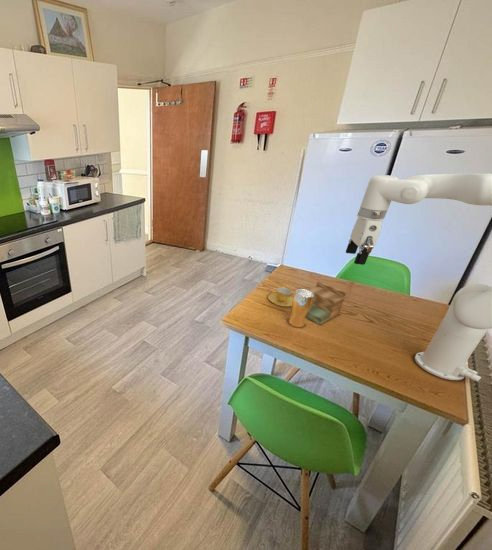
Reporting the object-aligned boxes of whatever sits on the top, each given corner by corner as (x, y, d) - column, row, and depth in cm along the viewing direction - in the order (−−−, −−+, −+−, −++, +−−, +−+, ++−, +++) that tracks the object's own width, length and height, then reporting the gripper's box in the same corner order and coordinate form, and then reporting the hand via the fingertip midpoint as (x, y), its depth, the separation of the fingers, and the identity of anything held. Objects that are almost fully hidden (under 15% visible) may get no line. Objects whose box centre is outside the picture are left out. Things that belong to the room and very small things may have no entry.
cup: (292, 295, 147) (294, 285, 144) (298, 308, 136) (301, 298, 134) (266, 292, 149) (268, 283, 147) (270, 305, 139) (272, 295, 137)
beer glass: (283, 319, 129) (291, 289, 122) (297, 317, 130) (306, 287, 123) (294, 328, 123) (303, 298, 116) (309, 326, 124) (318, 296, 117)
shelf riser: (339, 313, 132) (346, 292, 127) (319, 324, 125) (327, 302, 120) (312, 301, 141) (318, 281, 136) (293, 311, 134) (298, 290, 129)
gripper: (396, 221, 93) (375, 269, 101) (374, 207, 107) (358, 250, 116) (368, 219, 95) (350, 267, 103) (350, 206, 110) (336, 248, 118)
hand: (354, 258), depth 109 cm, fingers open, 9 cm apart
